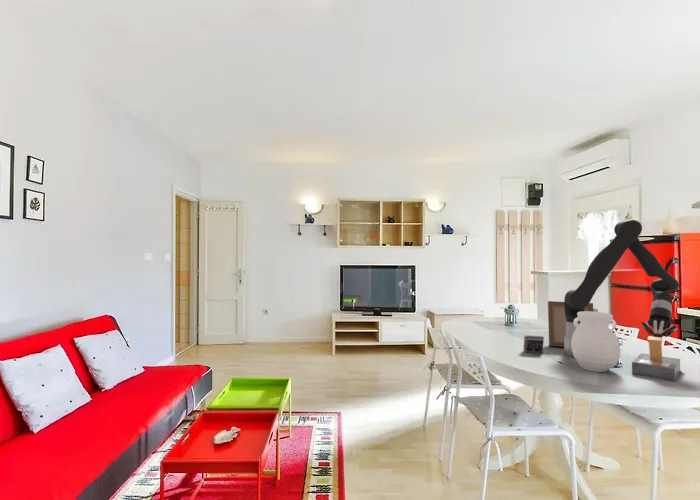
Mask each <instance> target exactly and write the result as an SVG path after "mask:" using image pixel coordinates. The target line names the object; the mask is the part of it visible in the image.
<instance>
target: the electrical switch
mask: <svg viewBox="0 0 700 500" xmlns="http://www.w3.org/2000/svg"><path fill="white" fill-rule="evenodd" d="M523 337H524V338H523V352H525V353H526V354H539V355H543V353H544V352H543V351H544V341H545V340H544V339H545V337H544V336H543V335H534V334H533V335H531V334H526V335H525V334H524V336H523Z"/></svg>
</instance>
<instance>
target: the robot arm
mask: <svg viewBox="0 0 700 500" xmlns="http://www.w3.org/2000/svg"><path fill="white" fill-rule="evenodd" d="M642 230H643V226H642V223H641V222H640V221H638V220H636V219H628V220H621V221H619V222H618V223H616V224H615V225H614V228H613V231H614V234H615V237H614V239H612V240H611V242H610V243H608V244H607V246H605V247H603V249H601V250H600V251H599V252H598V254H596V256H595V257H594V258H593V260H592V261H591V262H590V264H589V266H588V267H587V271H586V273H585V276H584V279H583V281H582V282H581V283H580V285H578V287H577V288H576V289H572V290H569V291H567V292H566V293H565V295H564V301H563V302H564V307H565V316H566V336H564V347H563V349H564V350H563V351H564V355H565V356H567V357H569V358H575V357H574V355H573V352H572V349H571V340H572V336H573V333H574V331H575V330H576V327H575V326H574V323H573V321H574V319H575V318H577V317H578V315H577V313H578V312H581V311H585V310H584V308H585V307H587V306H588V304H589V303H591V301H592V300H593V297H594V295H595V294H596V292H597V290H599V287H600V286H601V285H602V284H603V283H604V281H605V280H606V278H607V277H608V276H609V275H610V274H611V272H612V271H613V270H614V268H615V267H616V265H617V264H618V262H620V259H621V258H622V257H623V255H624V254H625V252H626V250H629V251H630V253H632V255H633V256H634V257H635V259H636V260H637V261H638V263H639V264H640V266H641V268H642V269H643V270H644V272H645V274H646V275H647V276H648V277H650V278H652V277H653V278H654V277H655V278H657V277H658V278H657V279H654V280H652V281H651V283H650V286H649V287H650V290H651V293H652V297H653V298H652V303H651V306H650V312H649V319H648V320H647V322H644V321H643V322H641V326H642V328H643V329H644V330H645V331H646V332H647V333H648V334H649V336H652V337H660V338H662V339H663V337H665V338H667V337H669V336H671V335H673V333H675V332H677V331H678V327H677V325H674V324H672V322H671V321H672V314H673V312H672V311H673V309H672V308H673V307H672V304H673V296H672V294H671V293H672V292H675V291H677V290H678V289H679V287H680V286H679V285H680V284H679V282H678V280H677V279H676V278H675V277H674V276H673V275H672V274H670V273H669V272H668V271H667V270H666V268H664V267H663V265H662V264H661V263H660V261H659V260H658V258H657V257H656V256H655V255H654V254H653V253H652V252H651V251H650V250H649V248H647V247H646V246H645V245H644V244H643V242H642V241H641V240H640V239H639V236H640V235H641V233H642ZM577 324H578V326H579V325H580V324H581V322H580V321H578V323H577ZM650 327H651V328H650Z"/></svg>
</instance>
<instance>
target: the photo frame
mask: <svg viewBox="0 0 700 500" xmlns="http://www.w3.org/2000/svg"><path fill="white" fill-rule="evenodd" d="M593 309H594V303H593V302H590V303H589V304H588V306H587V307H585V308H584V310H585V311H592V312H593ZM547 318H548V319H547V323H548V324H547V326H548V346H549V347H559V348H560V347H561V348H564V336H566V316H565V307H564V301H556V300H555V301H547Z"/></svg>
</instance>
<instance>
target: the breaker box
mask: <svg viewBox="0 0 700 500" xmlns="http://www.w3.org/2000/svg"><path fill="white" fill-rule="evenodd" d="M680 371H681V358H676V357H675V358H674V357H667V356H663V355H662V362H661V361H655V360H650V353H649V354H647V353H642V352H640V353H639V354H638V355H637V356H636V358H634V360H633V361H631V374H633V375H638V376H643V377H647V378H654V379H659V380H663V381H664V380H665V381H671V382H676V380H677V378H678V375H679V374H680Z"/></svg>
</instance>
